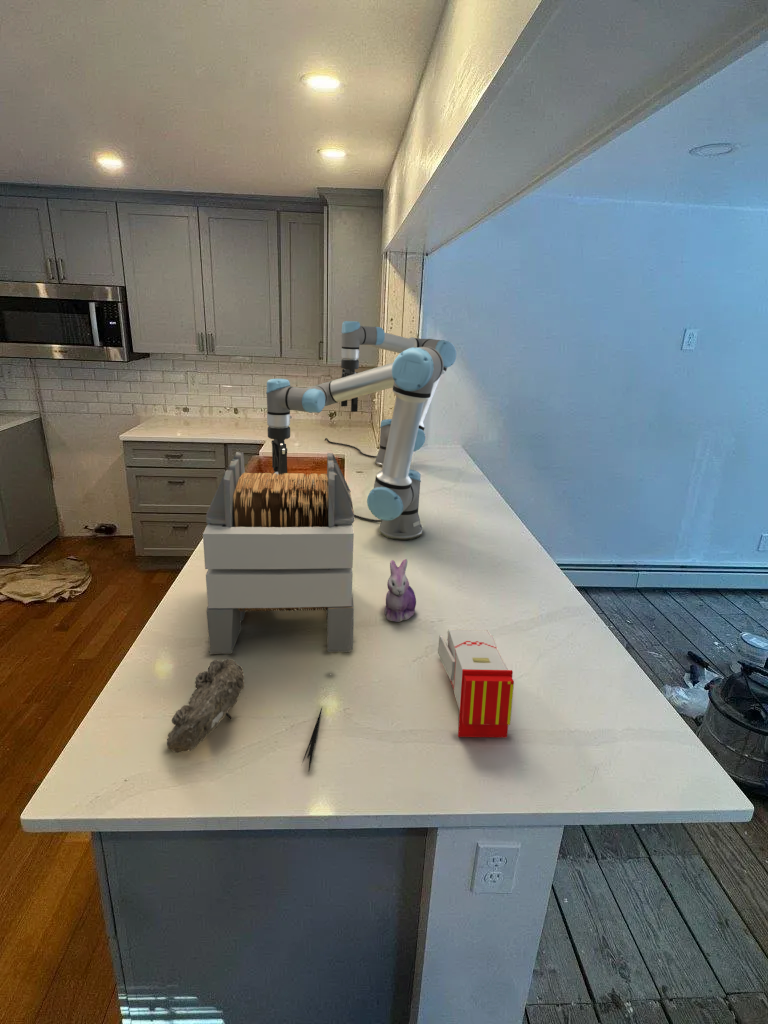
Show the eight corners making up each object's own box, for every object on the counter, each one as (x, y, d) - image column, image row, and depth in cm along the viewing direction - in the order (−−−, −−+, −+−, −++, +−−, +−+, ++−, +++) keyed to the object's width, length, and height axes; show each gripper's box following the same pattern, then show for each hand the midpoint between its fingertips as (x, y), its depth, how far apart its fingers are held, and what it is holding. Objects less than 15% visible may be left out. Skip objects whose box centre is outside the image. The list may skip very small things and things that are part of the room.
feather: (331, 679, 122) (336, 673, 122) (307, 777, 96) (313, 769, 95) (324, 675, 122) (329, 669, 121) (298, 772, 95) (304, 764, 95)
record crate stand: (229, 585, 158) (221, 442, 144) (346, 584, 161) (350, 444, 148) (206, 656, 126) (193, 481, 112) (353, 652, 130) (358, 483, 116)
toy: (488, 613, 130) (523, 677, 101) (484, 667, 133) (517, 744, 104) (435, 612, 130) (455, 676, 101) (432, 666, 133) (451, 743, 103)
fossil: (192, 660, 117) (244, 628, 112) (224, 691, 120) (276, 661, 115) (142, 746, 98) (202, 712, 93) (182, 779, 101) (242, 748, 96)
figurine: (392, 627, 141) (395, 572, 136) (374, 608, 149) (376, 556, 144) (425, 619, 145) (429, 566, 140) (405, 601, 154) (408, 550, 149)
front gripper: (296, 431, 183) (297, 499, 191) (283, 420, 199) (284, 483, 207) (273, 432, 181) (274, 501, 189) (262, 421, 197) (264, 485, 205)
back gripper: (368, 362, 233) (367, 413, 240) (348, 356, 255) (347, 404, 262) (351, 362, 230) (350, 414, 237) (332, 356, 252) (332, 404, 259)
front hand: (280, 491), depth 198 cm, fingers closed on pill bottle, 5 cm apart
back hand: (349, 408), depth 250 cm, fingers open, 13 cm apart
